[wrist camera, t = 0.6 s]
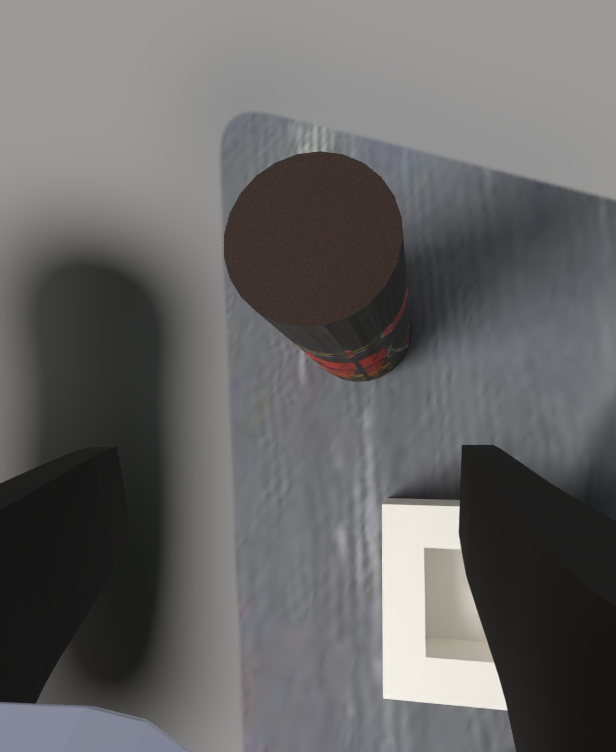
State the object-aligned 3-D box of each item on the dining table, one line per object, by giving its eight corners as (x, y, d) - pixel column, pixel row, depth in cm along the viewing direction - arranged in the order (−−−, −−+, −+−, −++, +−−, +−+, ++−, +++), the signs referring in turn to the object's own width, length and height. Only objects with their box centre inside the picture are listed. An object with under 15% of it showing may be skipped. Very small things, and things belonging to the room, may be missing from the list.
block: (565, 682, 29) (588, 718, 25) (388, 666, 31) (383, 698, 27) (557, 502, 30) (578, 510, 26) (387, 497, 32) (382, 504, 28)
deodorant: (289, 326, 34) (189, 233, 19) (366, 261, 33) (324, 116, 19) (352, 402, 33) (295, 364, 18) (432, 336, 32) (442, 242, 18)
